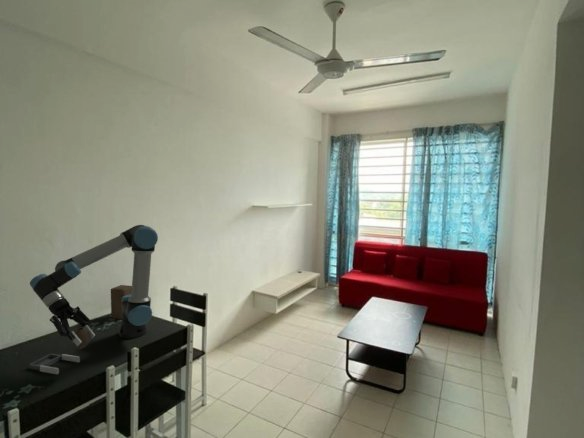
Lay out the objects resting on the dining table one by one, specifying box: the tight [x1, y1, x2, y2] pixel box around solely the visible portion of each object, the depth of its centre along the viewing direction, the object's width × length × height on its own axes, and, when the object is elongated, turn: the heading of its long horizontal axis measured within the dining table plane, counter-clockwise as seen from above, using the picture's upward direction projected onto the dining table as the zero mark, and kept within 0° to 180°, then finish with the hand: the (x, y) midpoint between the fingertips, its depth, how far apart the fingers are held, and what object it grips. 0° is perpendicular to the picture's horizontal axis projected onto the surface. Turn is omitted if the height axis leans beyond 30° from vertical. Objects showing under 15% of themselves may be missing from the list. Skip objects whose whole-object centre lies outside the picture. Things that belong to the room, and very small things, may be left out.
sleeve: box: [39, 353, 81, 375], centre depth 151 cm, size 10×12×2 cm
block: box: [110, 284, 132, 320], centre depth 213 cm, size 10×10×20 cm
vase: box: [71, 327, 91, 350], centre depth 147 cm, size 7×7×9 cm
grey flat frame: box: [27, 353, 63, 372], centre depth 153 cm, size 7×11×2 cm, turn 167°
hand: (86, 340), depth 146 cm, fingers closed on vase, 7 cm apart
